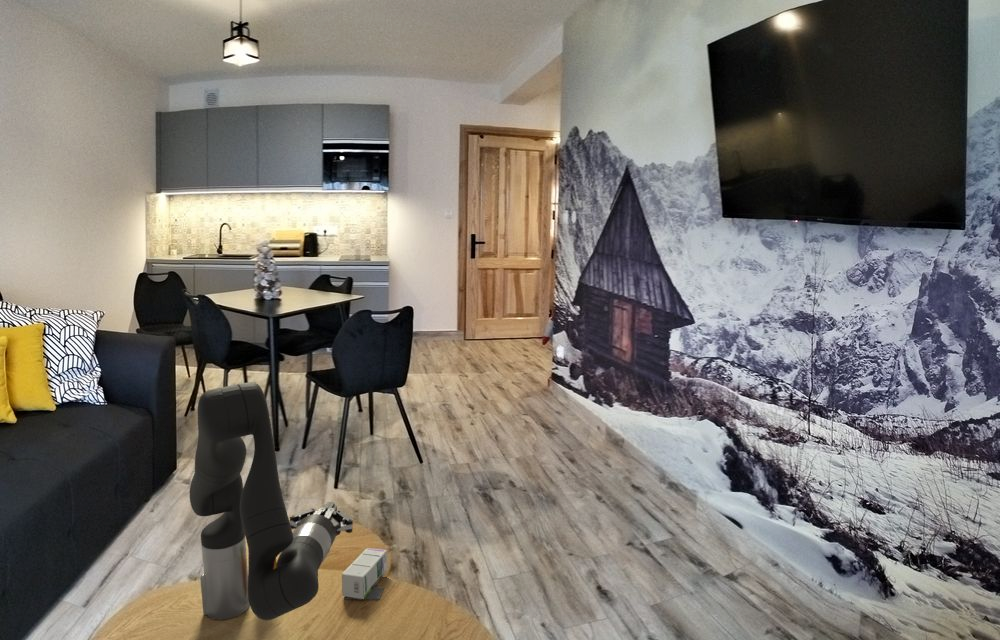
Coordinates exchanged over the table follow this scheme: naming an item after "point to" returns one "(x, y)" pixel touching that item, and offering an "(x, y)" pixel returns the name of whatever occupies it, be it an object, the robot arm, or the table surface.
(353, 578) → the syrup box
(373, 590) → the grey flat block
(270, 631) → the table surface
